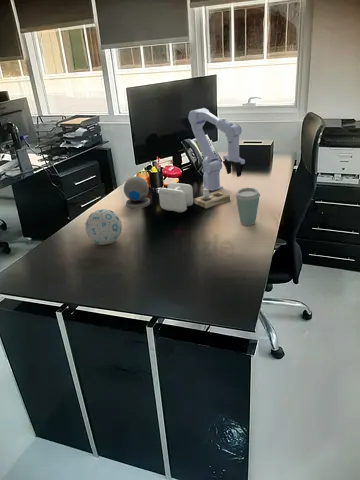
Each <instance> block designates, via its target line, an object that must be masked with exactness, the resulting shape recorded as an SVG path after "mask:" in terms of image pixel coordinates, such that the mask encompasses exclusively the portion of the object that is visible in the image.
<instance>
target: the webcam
mask: <svg viewBox="0 0 360 480" xmlns="http://www.w3.org/2000/svg"><path fill="white" fill-rule="evenodd" d="M123 192H124V195H125V197H126V198H127V200H126V202H125V206H126V208H128V209H143V208H145V207H148V206H149V205H150V204H151V199H150V198H149V197H147V196H148V193H149V184H148V183H147V181H146V180H145V178H142V177H140V176H132V177H129V178H128V179H127V180H126V181H125V183H124V184H123Z"/></svg>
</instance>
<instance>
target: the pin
mask: <svg viewBox="0 0 360 480" xmlns="http://www.w3.org/2000/svg"><path fill="white" fill-rule="evenodd" d="M209 194H210V190H209V188H202V196H203V201H208V200H209Z"/></svg>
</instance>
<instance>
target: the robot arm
mask: <svg viewBox="0 0 360 480" xmlns="http://www.w3.org/2000/svg"><path fill="white" fill-rule="evenodd" d="M209 110H210V109H207V108H205V107H202V108H198V109H194V110H193V109H192V110H190V111H189V113H188V116H187V119H188V121H189V123H190V125H191V130H192V132H193V136H194V137H195V140H196V142H197V144H198V147H199V149H200V152H201V155H202V157H203V160H202V163H201V164H202V166H203V167H202V168H203V171H204V173H203V176H202V181H203V186H202V187H201V188H202V189H204V188H209V191H212V192H215V191H216V190H217V191H218V190H220V189H223V188H224V186H222V185H221V183H220V182H221V181H220V173H221V170H222V169H223V165H224V167H225V170H226V175H230V174H232V165H233V162H234V163H235V164H234V167H235V170H236V171H235V173H236V177H238V178H239V177H241V176H242V172H243V169H244V168H245V165H246V160H245V159H244V158H242V157H240V135H241V134H242V132H243V131H242V127H241V126H240V125H239V124H238V123H235V124H233V122H230V121H228V120H227V118H225V117H221V118H219V117H218V116H216V115H214V114H213V113H211V112H210V111H209ZM206 122H209V123H211V124H212V125H215V127H216V129H217V130H219V131H220V132H222V133H224V134H225V137H226V140H227V155H226V154H225V155H223V157H222V160H223V161H221V160H220V159H219V157H218V156H217V155H215V154H214V153H213V150H212V148H211V146H210V143H209V141H208V138H207V136H206V133H205V131H204V129H203V127H204V125H205V123H206Z"/></svg>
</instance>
